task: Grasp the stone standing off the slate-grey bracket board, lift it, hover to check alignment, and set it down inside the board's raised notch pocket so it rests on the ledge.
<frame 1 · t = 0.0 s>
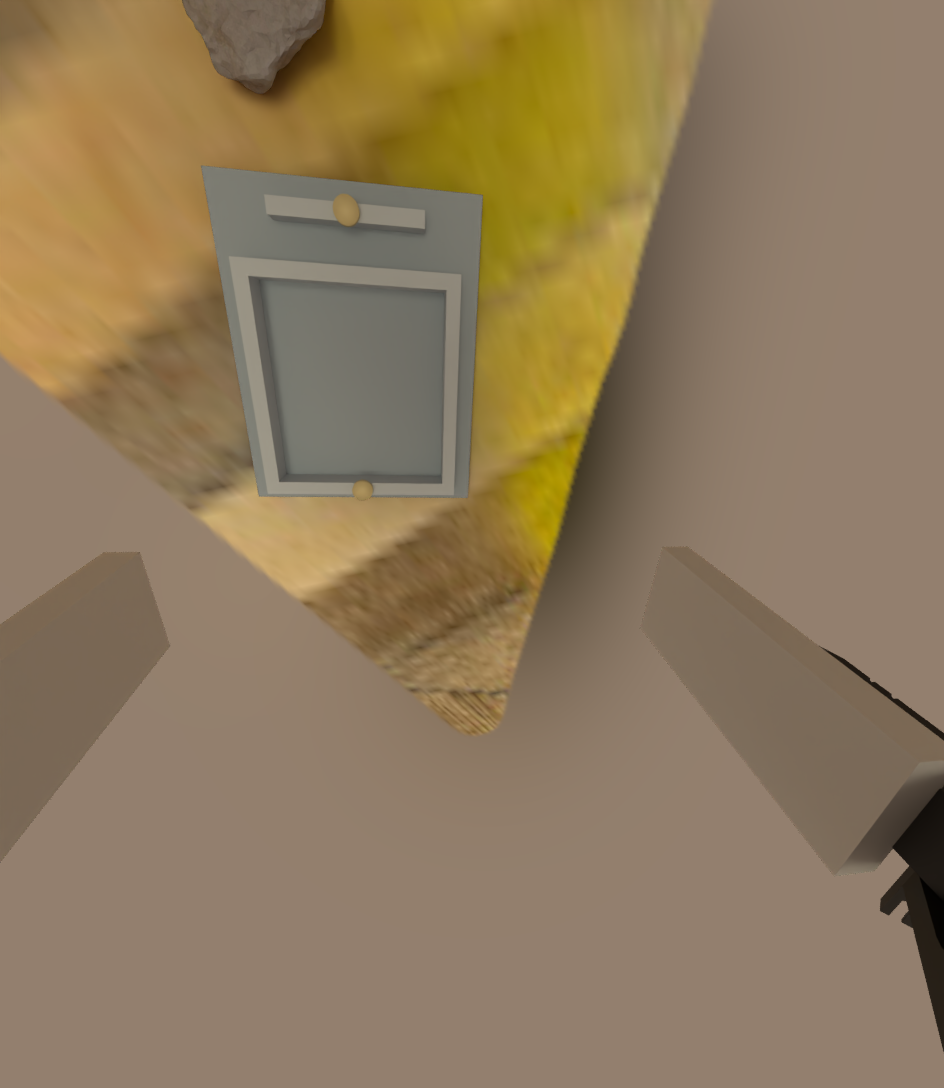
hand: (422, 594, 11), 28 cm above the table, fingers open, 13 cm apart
bracket board: (360, 361, 34), on the table
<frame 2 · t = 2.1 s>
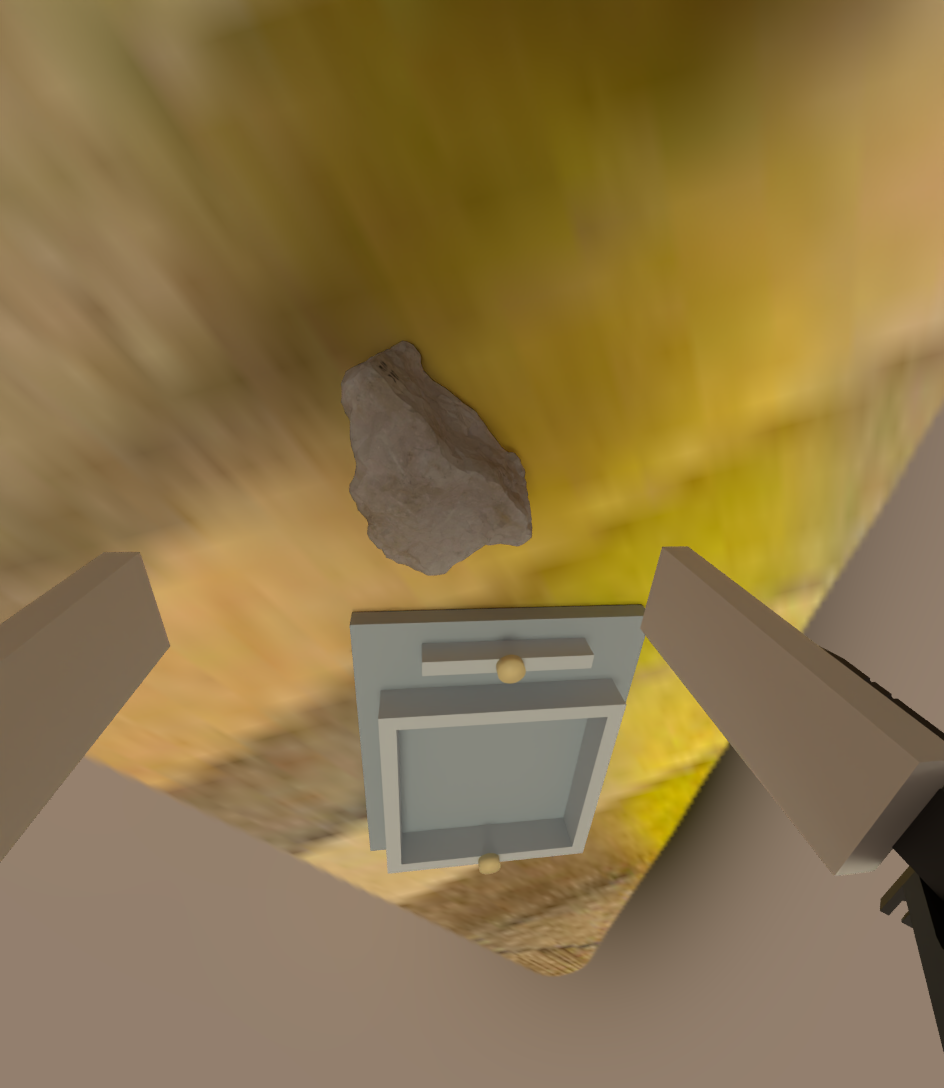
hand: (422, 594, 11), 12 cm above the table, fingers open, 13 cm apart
stone: (427, 452, 21), on the table
bracket board: (490, 733, 31), on the table
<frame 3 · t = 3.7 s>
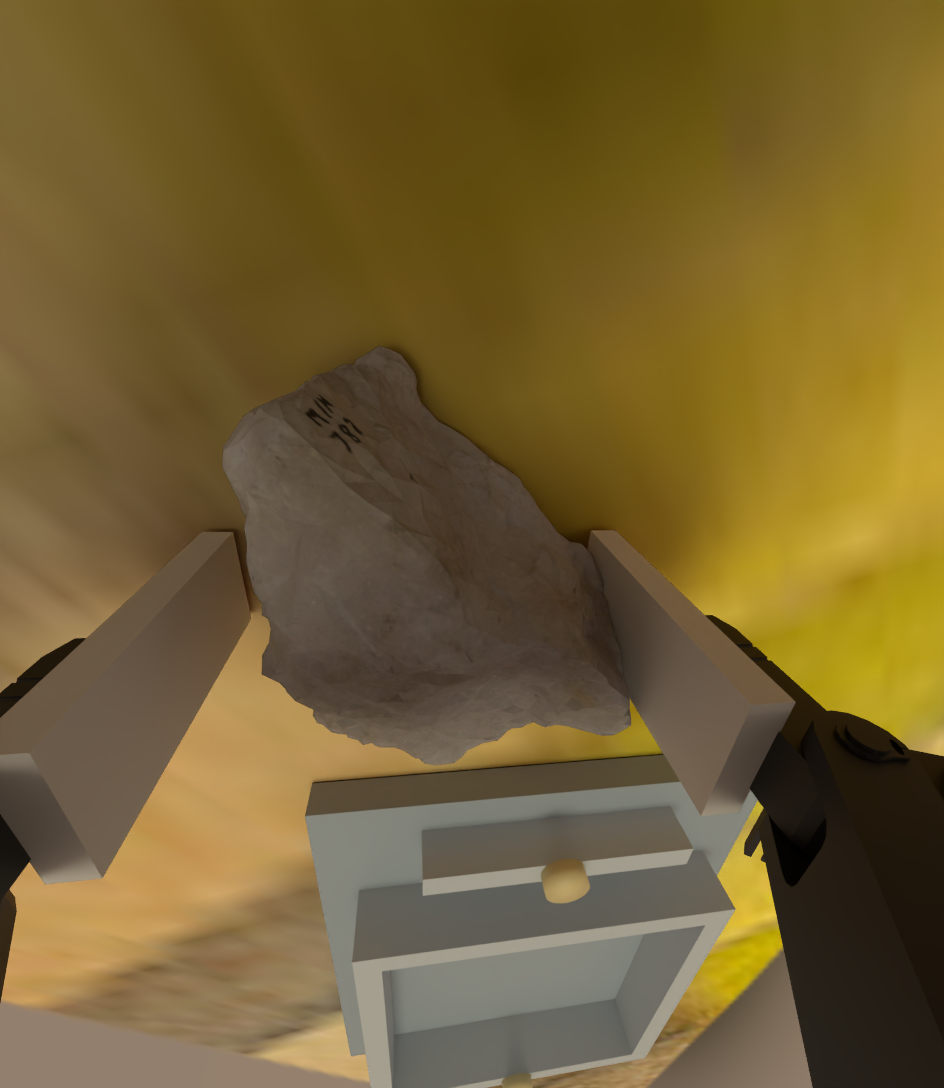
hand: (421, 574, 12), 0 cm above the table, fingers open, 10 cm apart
stone: (428, 539, 12), on the table, touching gripper
bracket board: (519, 909, 22), on the table
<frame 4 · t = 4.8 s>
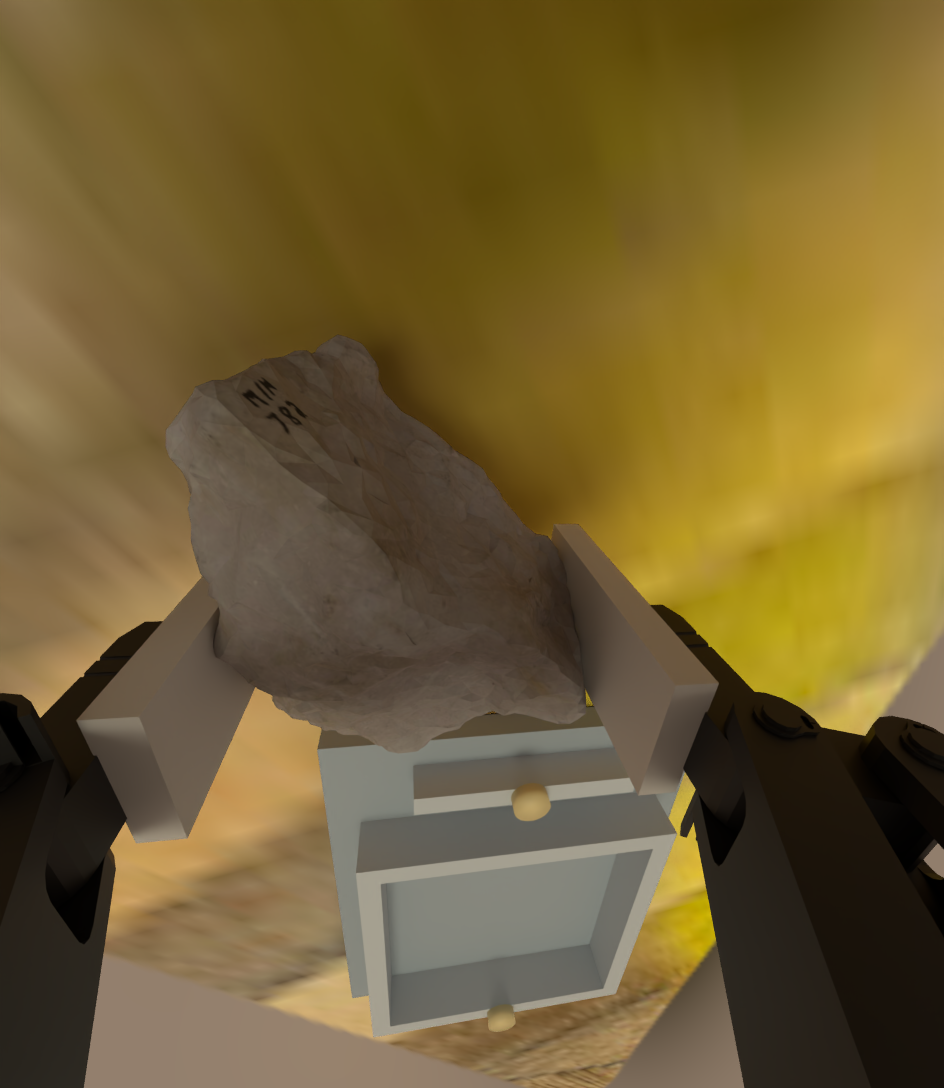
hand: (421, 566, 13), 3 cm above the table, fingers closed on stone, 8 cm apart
stone: (396, 530, 12), point 3 cm above the table, touching gripper
bracket board: (500, 853, 25), on the table
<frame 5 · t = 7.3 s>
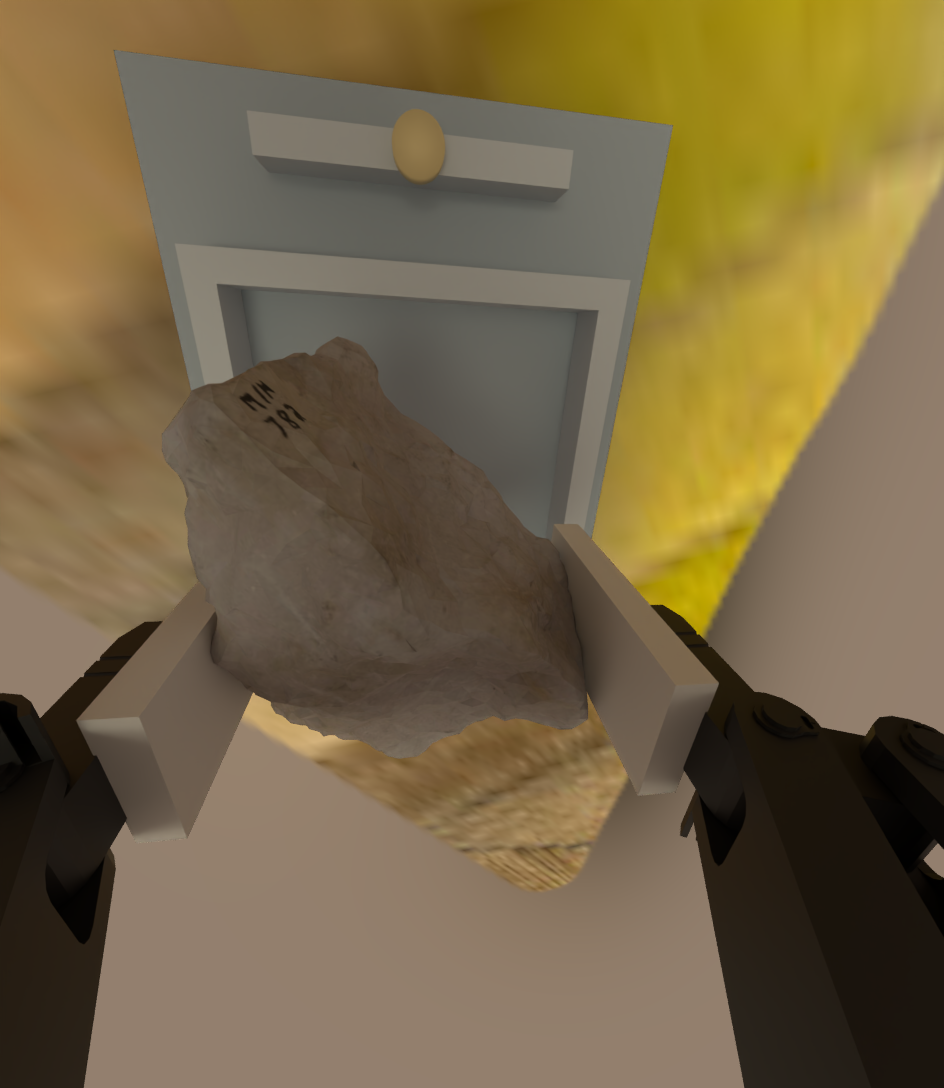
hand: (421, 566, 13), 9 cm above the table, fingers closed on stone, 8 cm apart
stone: (396, 533, 12), point 9 cm above the table, touching gripper
bracket board: (418, 426, 20), on the table
when the fingers open (3 cm above the table, at t = 9.7 s): stone drops 2 cm, resting on bracket board.
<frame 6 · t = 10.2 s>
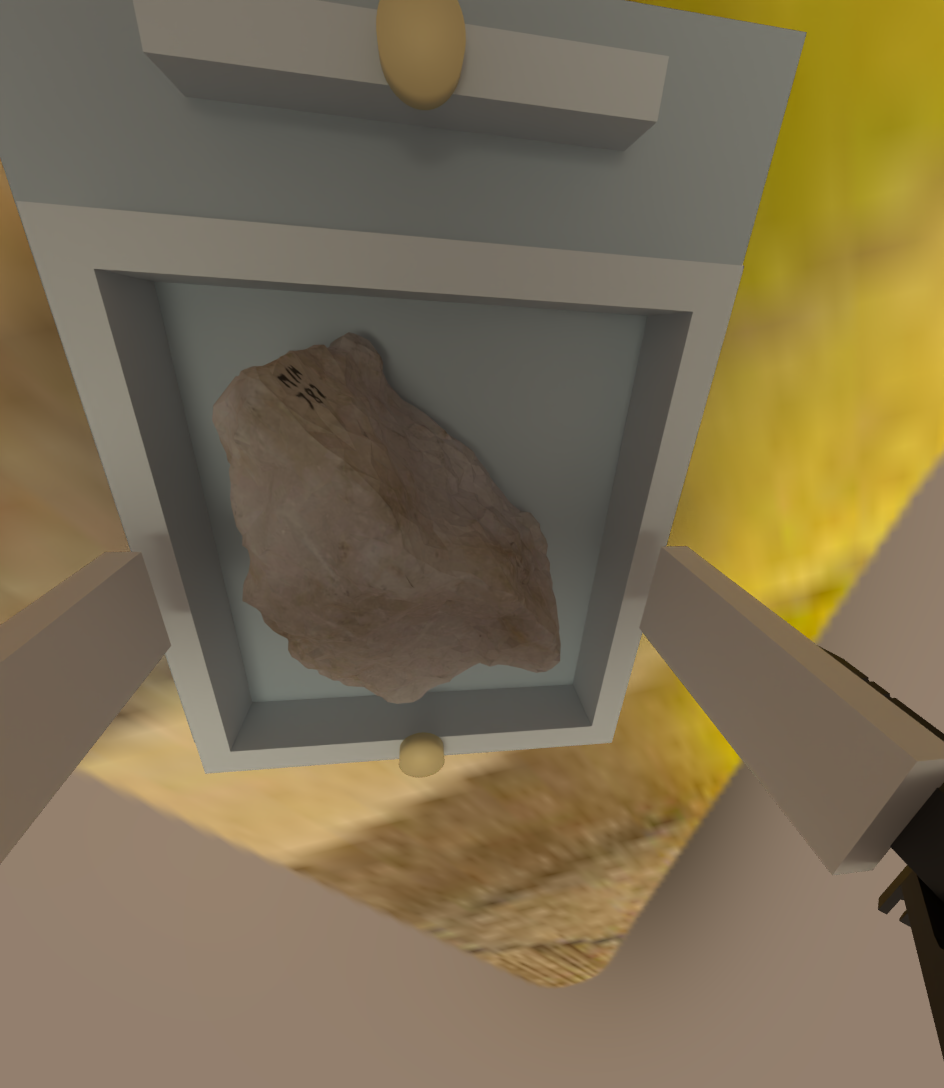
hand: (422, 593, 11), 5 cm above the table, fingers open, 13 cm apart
stone: (396, 507, 14), point 1 cm above the table, touching bracket board
bracket board: (419, 470, 15), on the table
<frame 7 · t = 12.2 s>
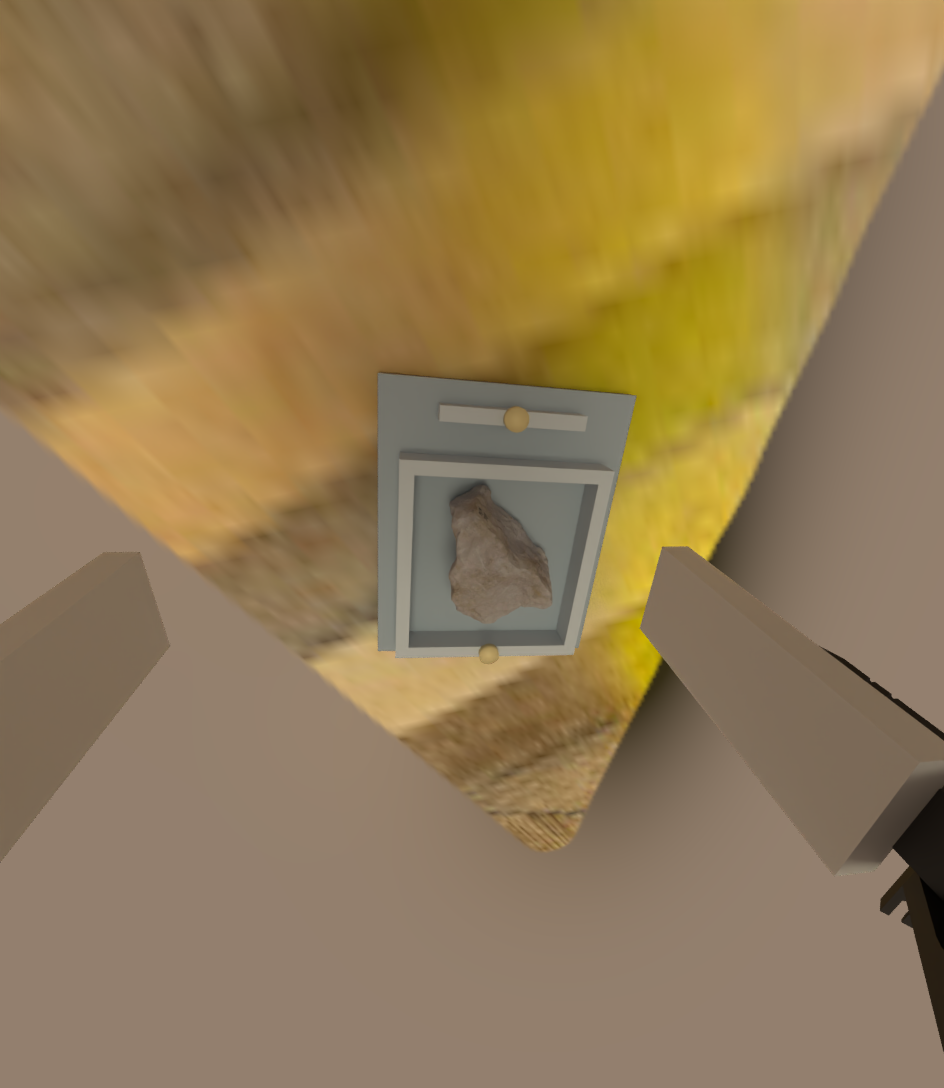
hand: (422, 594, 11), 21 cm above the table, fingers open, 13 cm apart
stone: (485, 543, 33), point 1 cm above the table, touching bracket board
bracket board: (492, 529, 34), on the table
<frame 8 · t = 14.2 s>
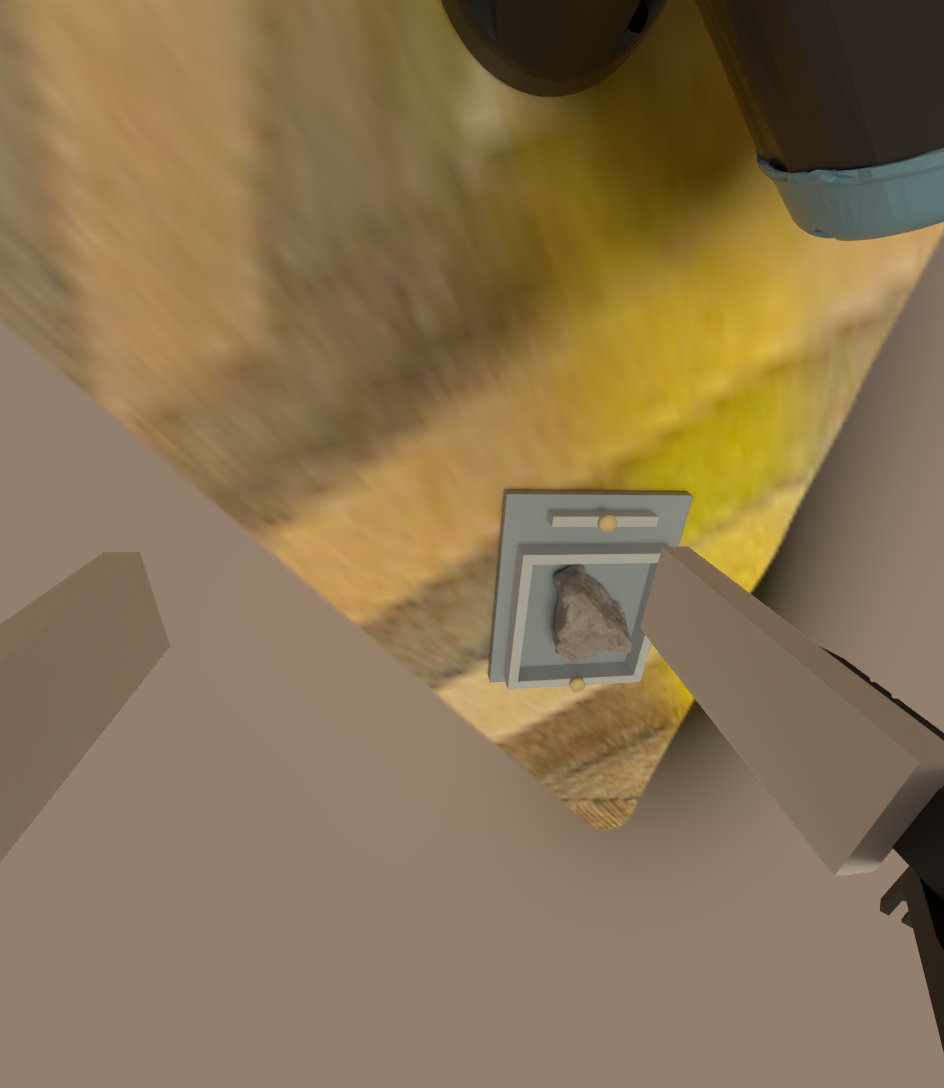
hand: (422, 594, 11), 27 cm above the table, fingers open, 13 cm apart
stone: (575, 601, 44), point 1 cm above the table, touching bracket board
bracket board: (579, 590, 45), on the table
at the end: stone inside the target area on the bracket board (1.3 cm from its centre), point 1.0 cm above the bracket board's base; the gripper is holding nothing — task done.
